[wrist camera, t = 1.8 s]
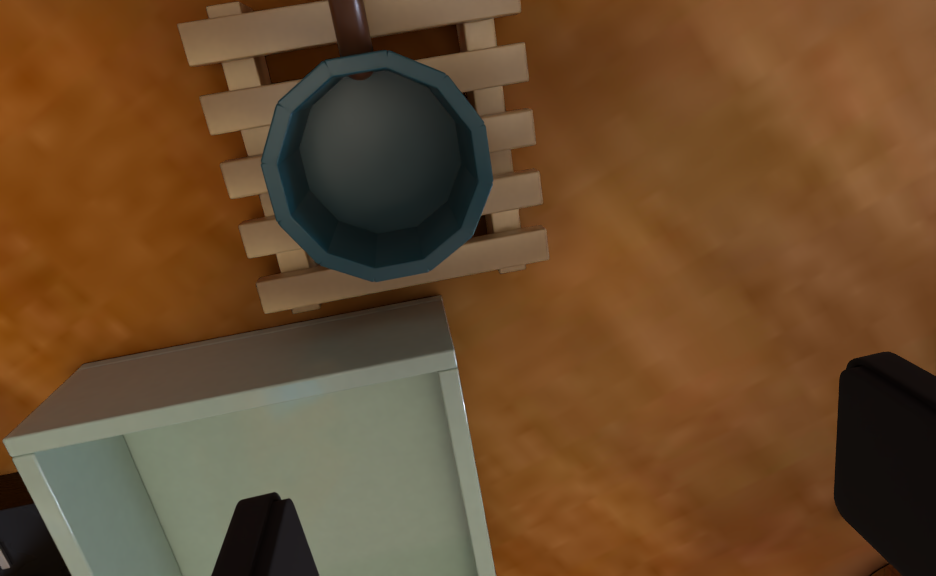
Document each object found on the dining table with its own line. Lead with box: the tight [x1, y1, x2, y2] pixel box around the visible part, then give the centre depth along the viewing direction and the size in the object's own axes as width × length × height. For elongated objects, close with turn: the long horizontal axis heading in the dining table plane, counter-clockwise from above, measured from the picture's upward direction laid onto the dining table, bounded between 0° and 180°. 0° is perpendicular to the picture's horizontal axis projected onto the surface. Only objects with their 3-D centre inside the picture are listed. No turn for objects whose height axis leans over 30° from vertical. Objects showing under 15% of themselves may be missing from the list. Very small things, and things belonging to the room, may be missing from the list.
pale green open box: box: [3, 295, 496, 576], centre depth 28 cm, size 20×17×6 cm
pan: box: [261, 0, 494, 282], centre depth 19 cm, size 12×7×5 cm, turn 9°
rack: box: [177, 0, 549, 314], centre depth 24 cm, size 12×12×3 cm
